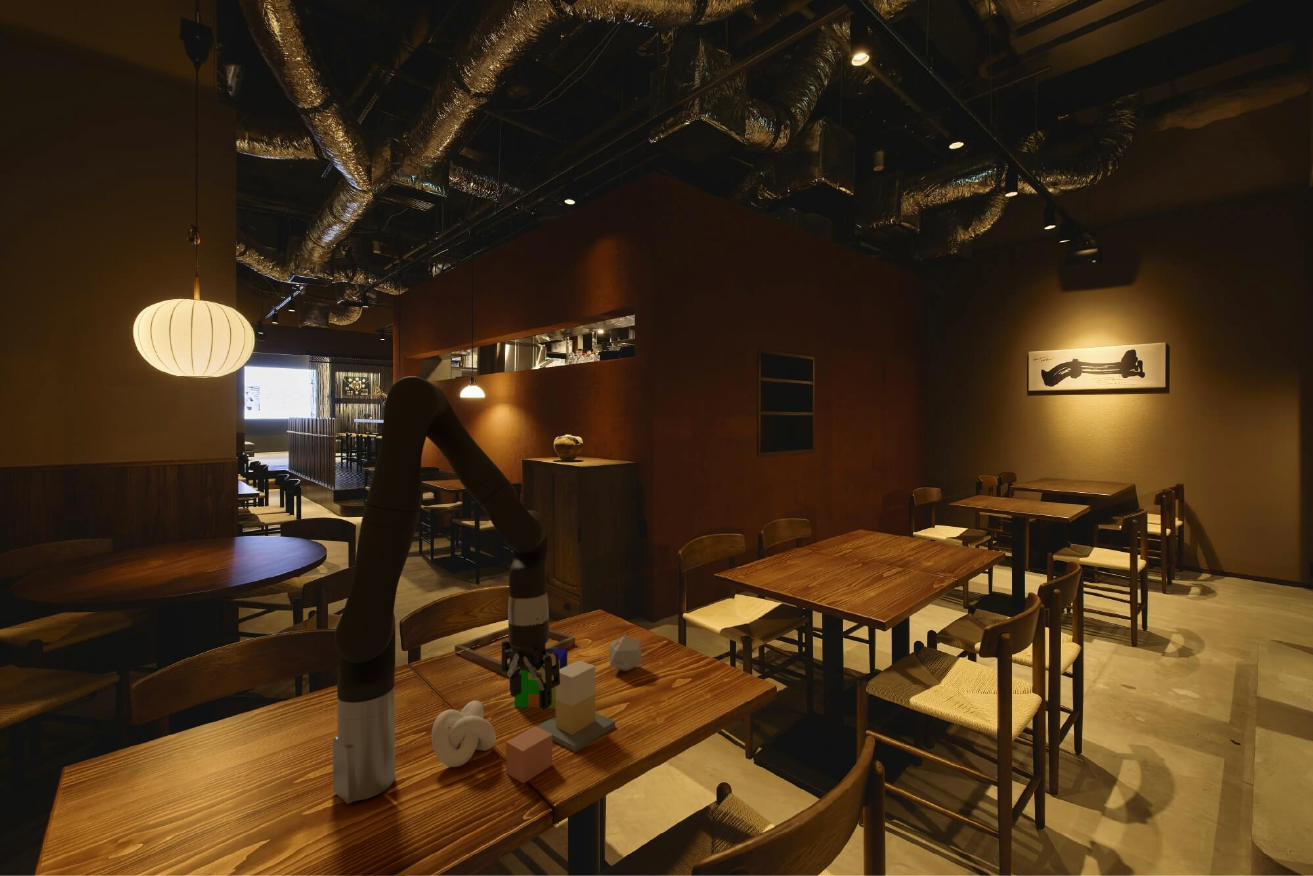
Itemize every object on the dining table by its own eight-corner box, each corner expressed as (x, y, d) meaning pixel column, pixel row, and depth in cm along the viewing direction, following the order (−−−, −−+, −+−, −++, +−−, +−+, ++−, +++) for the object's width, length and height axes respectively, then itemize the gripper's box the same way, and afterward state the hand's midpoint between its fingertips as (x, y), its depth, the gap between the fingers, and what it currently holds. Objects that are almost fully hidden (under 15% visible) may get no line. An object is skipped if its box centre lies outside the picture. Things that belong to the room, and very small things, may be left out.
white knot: (432, 743, 112) (432, 700, 112) (493, 732, 116) (492, 690, 116) (431, 775, 101) (430, 728, 101) (497, 761, 105) (497, 716, 105)
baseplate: (575, 752, 108) (575, 746, 108) (535, 732, 115) (535, 726, 115) (615, 726, 118) (615, 721, 118) (576, 709, 125) (576, 704, 125)
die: (604, 669, 147) (604, 632, 147) (634, 663, 151) (634, 627, 151) (615, 682, 139) (615, 643, 139) (647, 675, 143) (647, 637, 143)
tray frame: (504, 677, 142) (504, 666, 142) (454, 655, 156) (454, 645, 156) (575, 647, 162) (575, 637, 162) (525, 630, 176) (525, 621, 176)
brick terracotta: (523, 784, 99) (523, 751, 99) (506, 773, 102) (506, 741, 102) (552, 765, 104) (552, 734, 104) (535, 756, 107) (535, 726, 107)
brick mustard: (571, 735, 112) (571, 706, 112) (555, 727, 115) (555, 699, 115) (595, 720, 118) (595, 693, 118) (579, 713, 121) (579, 687, 121)
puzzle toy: (567, 689, 135) (567, 649, 135) (556, 709, 125) (555, 666, 125) (528, 687, 136) (528, 648, 136) (514, 707, 126) (514, 665, 126)
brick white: (571, 706, 112) (571, 677, 112) (555, 699, 115) (555, 671, 115) (595, 693, 118) (595, 666, 118) (579, 687, 121) (579, 660, 121)
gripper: (489, 615, 104) (491, 698, 104) (537, 630, 96) (539, 721, 96) (520, 605, 110) (522, 683, 110) (569, 618, 102) (570, 704, 102)
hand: (530, 701), depth 103 cm, fingers open, 8 cm apart
